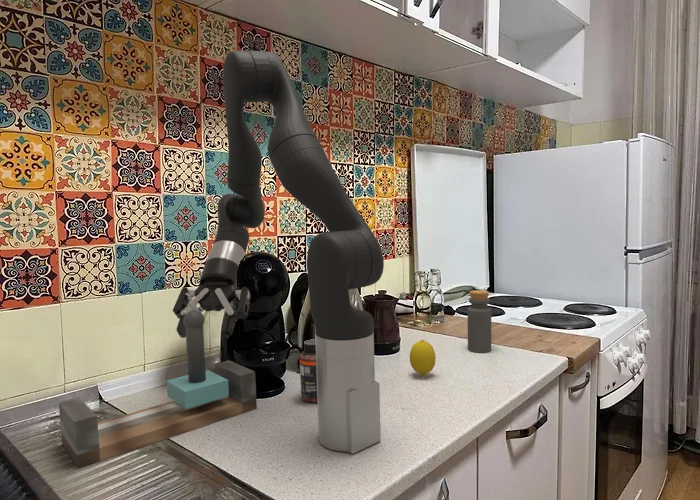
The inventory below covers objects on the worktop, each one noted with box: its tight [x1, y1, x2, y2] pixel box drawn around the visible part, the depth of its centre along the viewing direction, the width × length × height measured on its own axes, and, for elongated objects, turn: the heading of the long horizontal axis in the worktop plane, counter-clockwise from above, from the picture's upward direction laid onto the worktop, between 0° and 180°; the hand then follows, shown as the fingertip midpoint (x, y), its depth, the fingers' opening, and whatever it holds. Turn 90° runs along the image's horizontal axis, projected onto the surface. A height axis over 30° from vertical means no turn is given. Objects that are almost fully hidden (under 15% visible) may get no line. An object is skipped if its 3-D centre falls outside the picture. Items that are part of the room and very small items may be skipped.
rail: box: [58, 360, 258, 469], centre depth 85 cm, size 30×10×7 cm, turn 132°
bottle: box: [467, 289, 492, 354], centre depth 124 cm, size 6×6×15 cm
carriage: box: [166, 310, 229, 409], centre depth 88 cm, size 8×8×16 cm
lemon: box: [409, 339, 437, 377], centre depth 106 cm, size 6×6×8 cm
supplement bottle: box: [299, 339, 317, 403], centre depth 95 cm, size 6×6×11 cm
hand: (202, 335), depth 91 cm, fingers open, 8 cm apart
